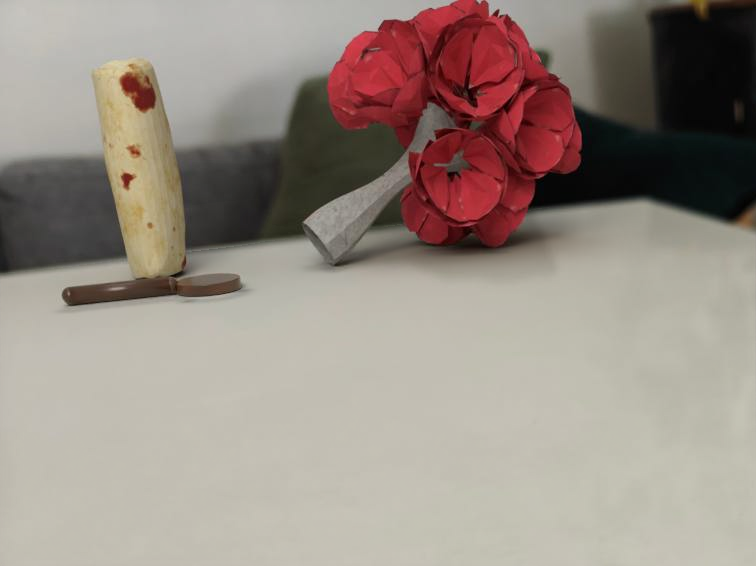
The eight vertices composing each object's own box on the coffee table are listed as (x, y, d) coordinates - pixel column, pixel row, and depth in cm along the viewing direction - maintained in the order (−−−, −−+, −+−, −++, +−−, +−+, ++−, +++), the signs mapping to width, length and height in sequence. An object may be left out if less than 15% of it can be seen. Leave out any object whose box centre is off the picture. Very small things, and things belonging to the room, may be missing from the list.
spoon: (61, 311, 101) (57, 293, 101) (66, 299, 107) (62, 282, 106) (243, 292, 104) (240, 274, 104) (239, 281, 110) (236, 264, 109)
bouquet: (417, 347, 109) (646, 155, 112) (264, 127, 97) (524, -83, 100) (354, 324, 128) (552, 159, 130) (219, 137, 116) (439, -41, 118)
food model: (187, 281, 111) (147, 54, 102) (119, 287, 111) (73, 59, 102) (201, 265, 120) (165, 54, 111) (138, 270, 120) (97, 59, 110)
